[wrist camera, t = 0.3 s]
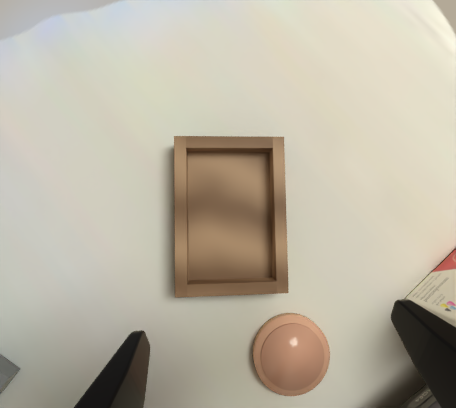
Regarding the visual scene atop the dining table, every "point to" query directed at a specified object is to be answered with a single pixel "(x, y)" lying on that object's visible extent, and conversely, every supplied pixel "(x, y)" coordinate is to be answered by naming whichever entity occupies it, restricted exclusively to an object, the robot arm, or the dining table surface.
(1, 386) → the grey flat panel
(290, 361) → the domed saucer
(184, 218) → the wooden tray
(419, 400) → the bluetooth speaker
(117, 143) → the dining table surface
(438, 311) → the ink cartridge box
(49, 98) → the dining table surface
